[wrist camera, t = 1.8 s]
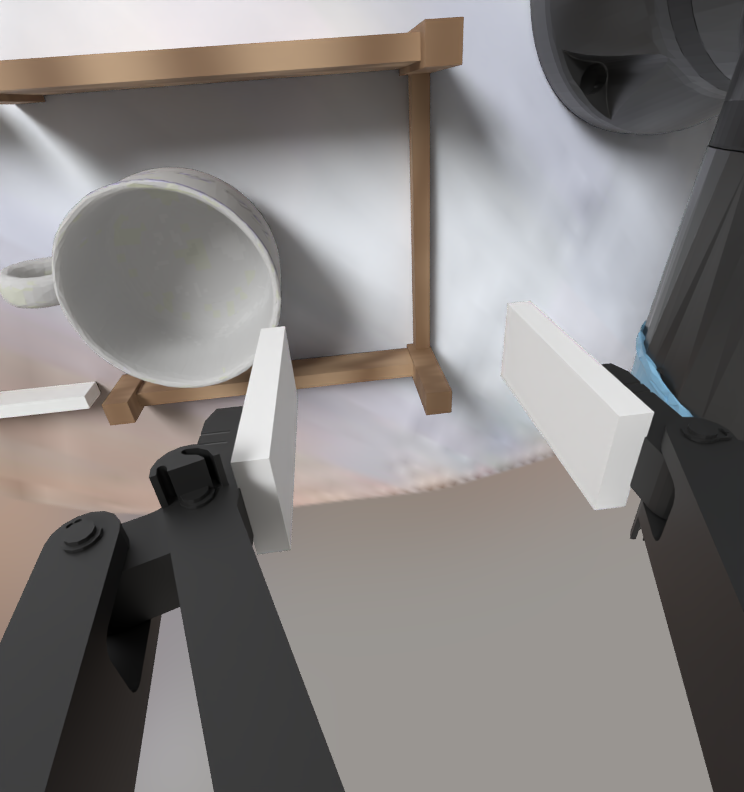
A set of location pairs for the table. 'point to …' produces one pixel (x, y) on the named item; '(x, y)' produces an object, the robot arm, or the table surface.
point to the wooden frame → (408, 52)
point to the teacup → (161, 277)
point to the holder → (48, 399)
